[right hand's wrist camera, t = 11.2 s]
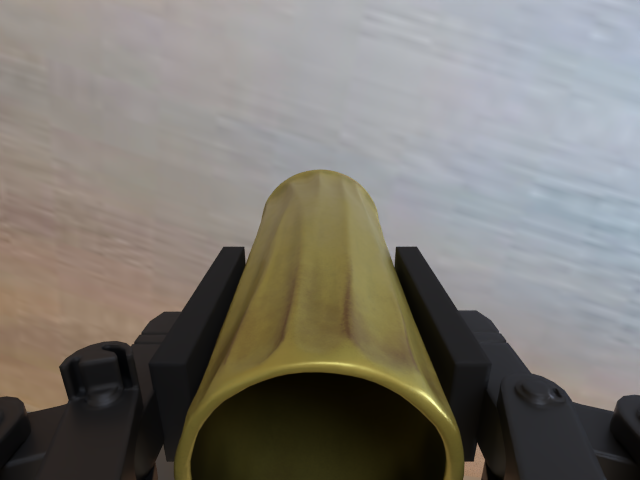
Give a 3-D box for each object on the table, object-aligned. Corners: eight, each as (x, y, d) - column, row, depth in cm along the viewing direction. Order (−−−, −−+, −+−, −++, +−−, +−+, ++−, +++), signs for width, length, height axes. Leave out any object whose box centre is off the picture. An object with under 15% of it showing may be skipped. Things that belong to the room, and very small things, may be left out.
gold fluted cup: (264, 279, 21) (168, 591, 8) (258, 168, 19) (112, 335, 6) (375, 279, 21) (468, 591, 8) (381, 168, 19) (523, 335, 6)
